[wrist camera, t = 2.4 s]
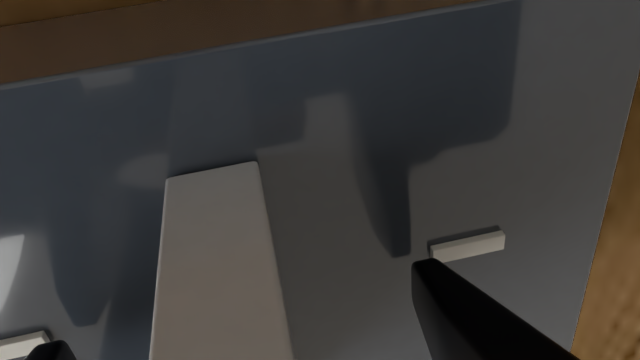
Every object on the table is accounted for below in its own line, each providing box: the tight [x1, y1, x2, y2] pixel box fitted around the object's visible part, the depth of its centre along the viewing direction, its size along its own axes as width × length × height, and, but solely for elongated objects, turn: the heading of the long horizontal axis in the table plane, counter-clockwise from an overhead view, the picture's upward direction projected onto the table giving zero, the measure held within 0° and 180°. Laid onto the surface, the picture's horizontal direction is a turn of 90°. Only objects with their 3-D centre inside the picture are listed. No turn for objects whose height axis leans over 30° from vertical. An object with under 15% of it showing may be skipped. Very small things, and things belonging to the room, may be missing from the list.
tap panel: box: [0, 0, 640, 360], centre depth 11 cm, size 14×9×3 cm, turn 96°
